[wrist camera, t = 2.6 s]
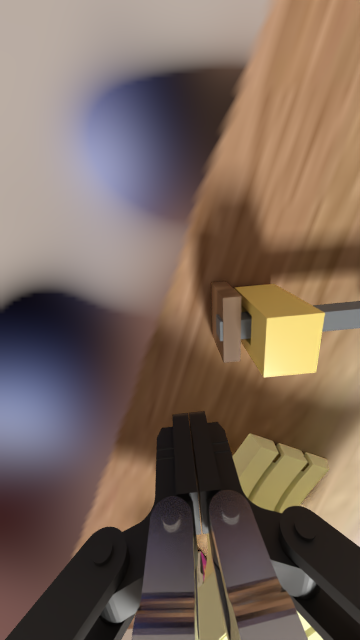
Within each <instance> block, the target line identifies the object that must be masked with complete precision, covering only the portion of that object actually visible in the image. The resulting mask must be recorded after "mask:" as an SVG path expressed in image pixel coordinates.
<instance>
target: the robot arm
mask: <svg viewBox="0 0 360 640" xmlns="http://www.w3.org/2000/svg"><path fill="white" fill-rule="evenodd" d="M172 416H173V427H167V428H162V429H161V431H160V433H159V435H158V437H157V455H156V459H157V461H156V488H155V502H154V505H153V508H152V510H151V511H150V513H149V514H148V516H147V517H146V518H145V519H144V520H143V521H142V522H140V523H139V524H137V525H135V526H133V527H131V528H129V529H127V530H125V531H123V532H121V531H120V530H119V529H117V528H115V527H105V528H102V529H100V530H98V531H97V532H95V533H94V534H93V535H92V536H91V537H90V538H89V539H88V540H87V541H86V543H85V544H84V545H83V546H82V547H81V549H80V550H79V551H78V552H77V553H76V555H75V556H74V557H73V558H72V559H71V561H70V562H69V563H68V564H67V566H66V567H65V568H64V569H63V570H62V571H61V573H60V574H59V575H58V576H57V578H56V579H55V580H54V581H53V582H52V584H51V585H50V586H49V587H48V588H47V590H46V591H45V592H44V593H43V595H42V596H41V597H40V598H39V599H38V600H37V602H36V603H35V604H34V605H33V607H32V608H31V609H30V610H29V611H28V613H27V614H26V615H25V616H24V617H23V619H22V620H21V621H20V622H19V623H18V625H17V626H16V627H15V628H14V629H13V631H12V632H11V633H10V634H9V635H8V637H7V638H6V639H5V640H121V639H122V637H123V635H124V633H125V632H126V630H127V628H128V627H129V625H130V623H131V621H132V619H133V618H134V616H135V620H134V626H133V632H132V640H200V629H199V603H198V578H197V563H198V549H197V538H196V535H199V534H201V526H200V515H201V523H202V531H203V534H206V533H209V539H210V546H211V556H212V564H213V569H214V574H215V579H216V584H217V589H218V594H219V599H220V604H221V609H222V614H223V619H224V624H225V629H226V634H227V639H228V640H308V638H307V636H306V633H305V631H304V628H303V625H302V623H301V620H300V618H299V615H298V613H299V614H300V615H301V616H302V617H303V618H304V619H305V620H306V621H307V622H308V623H309V625H310V626H311V627H312V628H313V629H314V630H315V631H316V632H317V633H318V634H319V635H320V636H321V637H322V639H323V640H360V547H359V546H357V545H356V544H355V543H354V542H352V541H351V540H350V539H348V538H347V537H346V536H344V535H343V534H342V533H340V532H339V531H338V530H336V529H335V528H334V527H332V526H331V525H330V524H328V523H327V522H326V521H324V520H323V519H322V518H320V517H319V516H318V515H316V514H315V513H314V512H312V511H311V510H309V509H307V508H304V507H301V506H291V507H288V508H286V509H285V510H284V511H283V512H282V513H279V512H275V511H271V510H267V509H264V508H261V507H259V506H257V505H255V504H254V503H252V502H251V501H250V500H249V499H248V498H247V497H246V495H245V494H244V492H243V490H242V488H241V485H240V481H239V478H238V474H237V471H236V467H235V464H234V461H233V457H232V454H231V451H230V447H229V444H228V440H227V437H226V433H225V430H224V429H223V428H222V427H221V426H220V424H219V423H218V422H212V423H207V420H206V415H205V411H201V412H191V413H189V418H190V426H189V418H188V413H183V414H173V415H172ZM190 431H191V434H190ZM198 499H199V500H198ZM199 507H200V513H199ZM297 612H298V613H297ZM135 614H136V615H135Z"/></svg>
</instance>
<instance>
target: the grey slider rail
mask: <svg viewBox="0 0 360 640" xmlns="http://www.w3.org/2000/svg"><path fill="white" fill-rule="evenodd" d="M313 306H314V307H316V308H317V309H319V310H321V311H323V312H324V313H325V316H324V323H323V329H322V332H323V331H333V330H344V329H354V328H360V301H356V302H345V303H334V304H324V305H313ZM251 322H252V316H251V315H250V313H249V312H241V339H250V338H251ZM216 333H217V335H218V337H219V339H220V341H223V321H222V319H221V318H220V316H219V314H216Z"/></svg>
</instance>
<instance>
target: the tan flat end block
mask: <svg viewBox="0 0 360 640" xmlns="http://www.w3.org/2000/svg"><path fill="white" fill-rule="evenodd" d="M211 296H212V327H213V338H214V340H215V343H216V345H217V347H218V350H219V352H220V355H221V357H222V360H223V362H224V363H225V362H235V361H240V357H241V295H240V294H239V293H238V292H236V291H235V290H234V289H233V288H232V287H231V286H230V285H229V284H228V283H227V282H226V281H221V282H211ZM216 314H219V316H220V318H221V319H222V321H223V341H220V339H219V337H218V335H217V333H216Z"/></svg>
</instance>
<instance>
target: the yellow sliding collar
mask: <svg viewBox="0 0 360 640" xmlns="http://www.w3.org/2000/svg"><path fill="white" fill-rule="evenodd" d="M234 290H235V291H236V292H238V293H239V294H240V295H241V312H249V313H250V315H251V316H252V322H251V338H250V339H241V342H242V344H243V346H244V347H245V349H246V350H247V352H248V354H249V355H250V357H251V358H252V360H253V362H254V363H255V365H256V366H257V368H258V369H259V371H260V373H261V374H262V376H263V377H274V376H284V375H294V374H304V373H314V372H316V369H317V362H318V356H319V349H320V342H321V336H322V329H323V323H324V316H325V313H324V312H323V311H321V310H319V309H317V308H316V307H314V306H312V305H310V304H309V303H307V302H305V301H303V300H302V299H300V298H298V297H296V296H295V295H293V294H291V293H289V292H287V291H286V290H284V289H282V288H280V287H279V286H277V285H275V284H267V285H256V286H245V287H234Z"/></svg>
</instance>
